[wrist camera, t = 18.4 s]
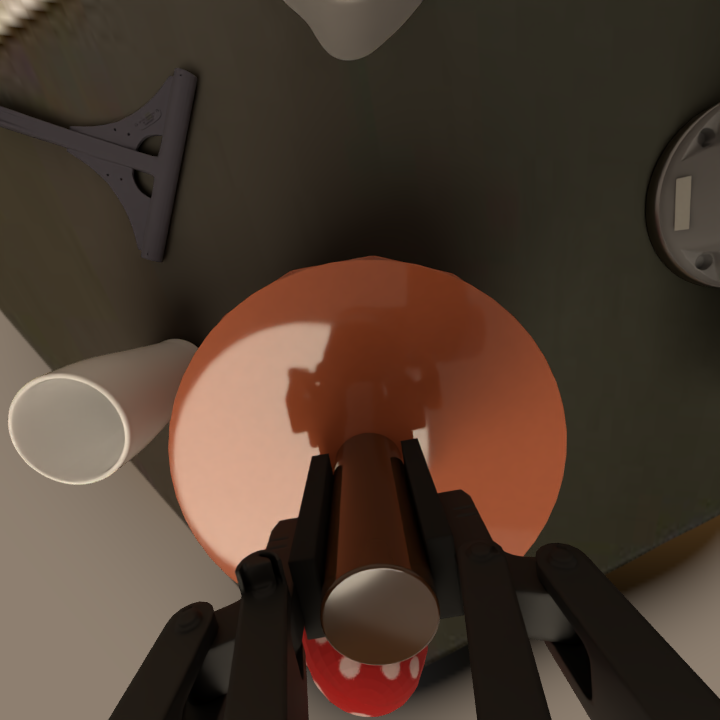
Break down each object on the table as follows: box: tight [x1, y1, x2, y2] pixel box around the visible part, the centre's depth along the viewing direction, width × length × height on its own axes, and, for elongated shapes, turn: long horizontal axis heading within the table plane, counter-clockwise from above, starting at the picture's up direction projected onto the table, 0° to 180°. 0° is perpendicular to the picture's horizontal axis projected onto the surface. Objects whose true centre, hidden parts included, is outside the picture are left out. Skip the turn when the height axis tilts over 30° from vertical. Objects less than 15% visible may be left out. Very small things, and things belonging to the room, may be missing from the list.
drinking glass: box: [8, 339, 198, 484], centre depth 29 cm, size 7×7×15 cm
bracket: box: [0, 68, 197, 262], centre depth 31 cm, size 14×15×3 cm
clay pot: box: [168, 256, 567, 665], centre depth 24 cm, size 19×19×27 cm
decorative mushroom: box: [302, 627, 428, 717], centre depth 33 cm, size 10×9×15 cm
